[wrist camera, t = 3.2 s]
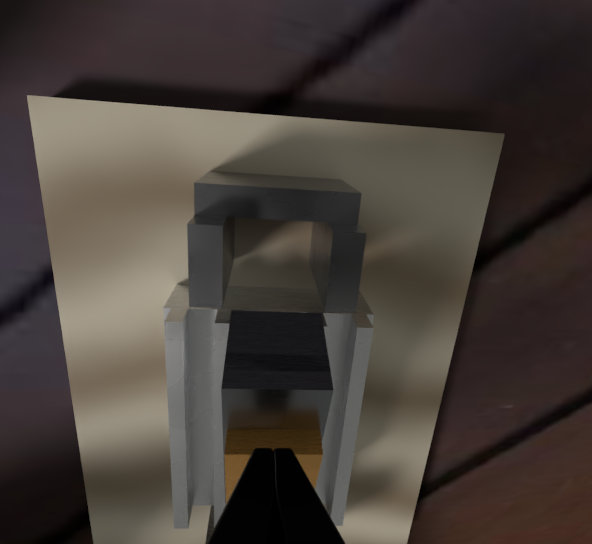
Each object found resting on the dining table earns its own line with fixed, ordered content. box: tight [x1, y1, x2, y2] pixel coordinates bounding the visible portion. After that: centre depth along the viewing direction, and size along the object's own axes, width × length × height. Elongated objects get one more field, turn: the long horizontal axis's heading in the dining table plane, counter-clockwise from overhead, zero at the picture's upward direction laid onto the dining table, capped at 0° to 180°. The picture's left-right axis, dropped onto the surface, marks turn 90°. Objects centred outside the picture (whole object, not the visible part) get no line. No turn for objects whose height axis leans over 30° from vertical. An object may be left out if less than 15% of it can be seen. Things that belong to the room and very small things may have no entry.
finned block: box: [163, 284, 374, 529], centre depth 17 cm, size 10×8×4 cm
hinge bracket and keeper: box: [187, 171, 367, 544], centre depth 16 cm, size 20×5×6 cm, turn 176°
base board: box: [27, 95, 505, 544], centre depth 19 cm, size 24×18×2 cm
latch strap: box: [221, 310, 334, 506], centre depth 14 cm, size 17×2×3 cm, turn 176°
